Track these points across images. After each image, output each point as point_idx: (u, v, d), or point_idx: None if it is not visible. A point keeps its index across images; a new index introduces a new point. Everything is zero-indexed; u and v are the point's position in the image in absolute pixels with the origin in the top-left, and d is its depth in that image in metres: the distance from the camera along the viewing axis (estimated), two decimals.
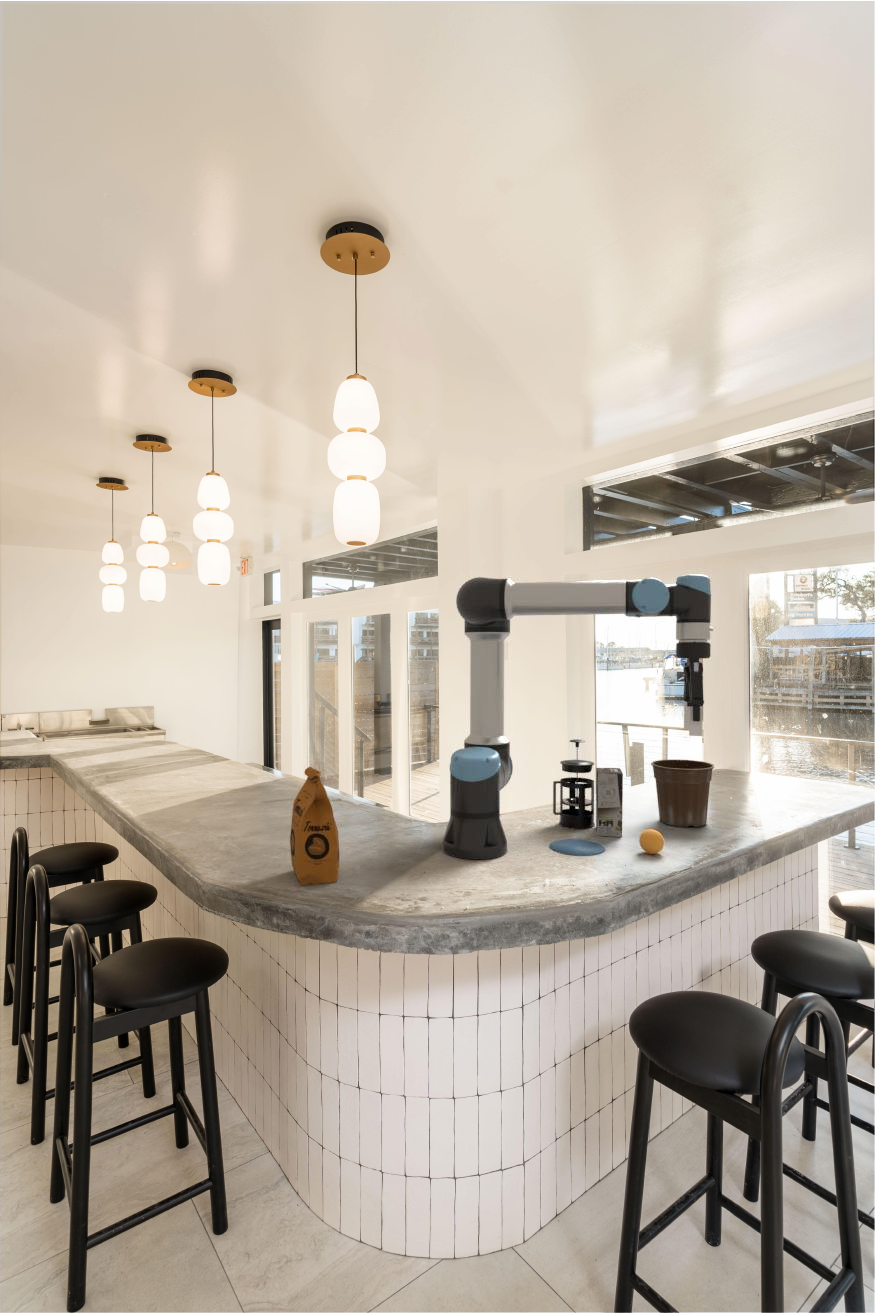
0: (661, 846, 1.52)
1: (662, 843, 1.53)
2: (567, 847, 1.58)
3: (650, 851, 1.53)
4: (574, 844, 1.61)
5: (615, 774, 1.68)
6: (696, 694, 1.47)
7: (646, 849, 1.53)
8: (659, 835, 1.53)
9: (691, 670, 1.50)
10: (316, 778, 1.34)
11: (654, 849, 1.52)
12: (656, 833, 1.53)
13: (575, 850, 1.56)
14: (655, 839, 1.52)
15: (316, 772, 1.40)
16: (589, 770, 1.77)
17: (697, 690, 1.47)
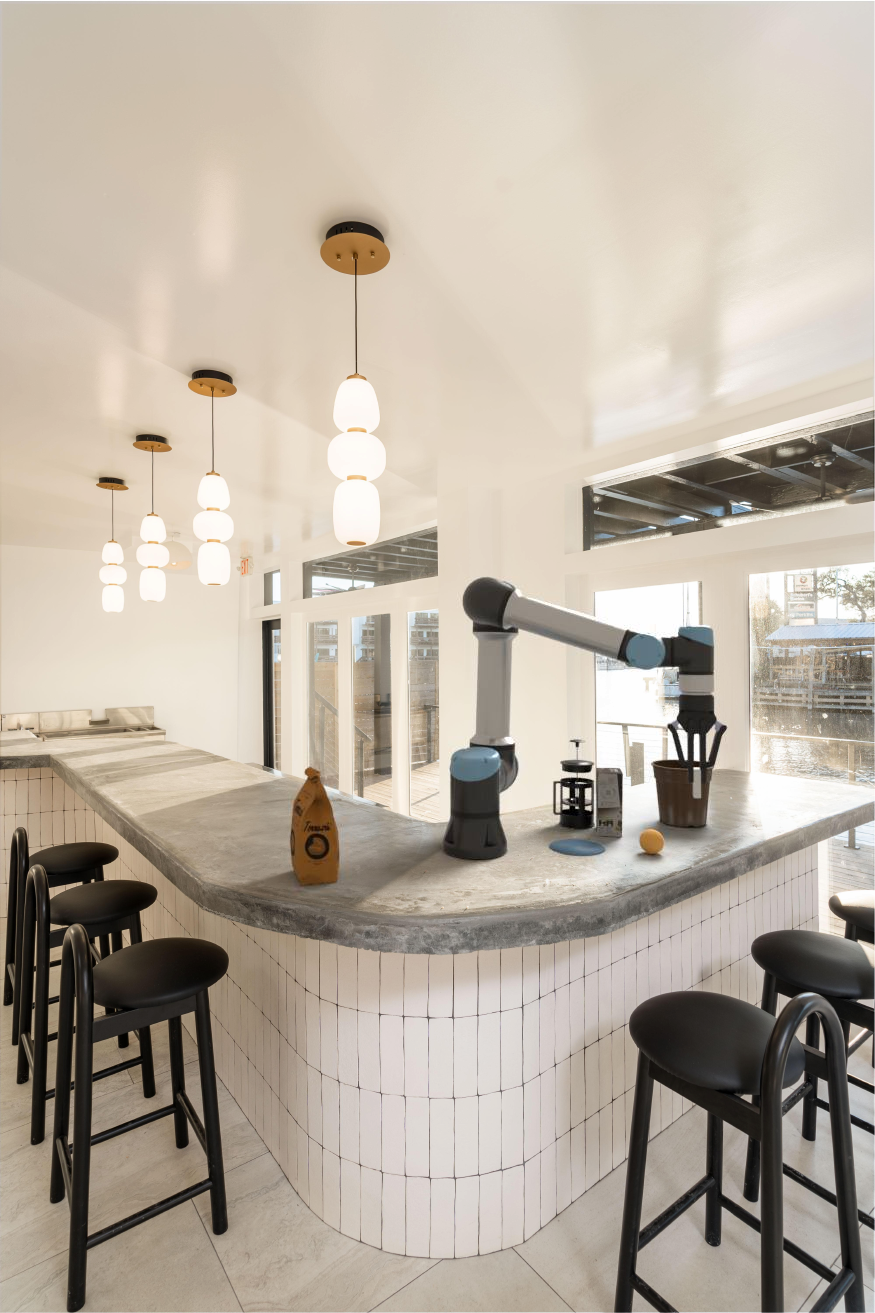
0: (661, 846, 1.52)
1: (662, 843, 1.53)
2: (567, 847, 1.58)
3: (650, 851, 1.53)
4: (574, 844, 1.61)
5: (615, 774, 1.68)
6: None
7: (646, 849, 1.53)
8: (659, 835, 1.53)
9: (723, 733, 1.49)
10: (316, 778, 1.34)
11: (654, 849, 1.52)
12: (656, 833, 1.53)
13: (575, 850, 1.56)
14: (655, 839, 1.52)
15: (316, 772, 1.40)
16: (589, 770, 1.77)
17: None
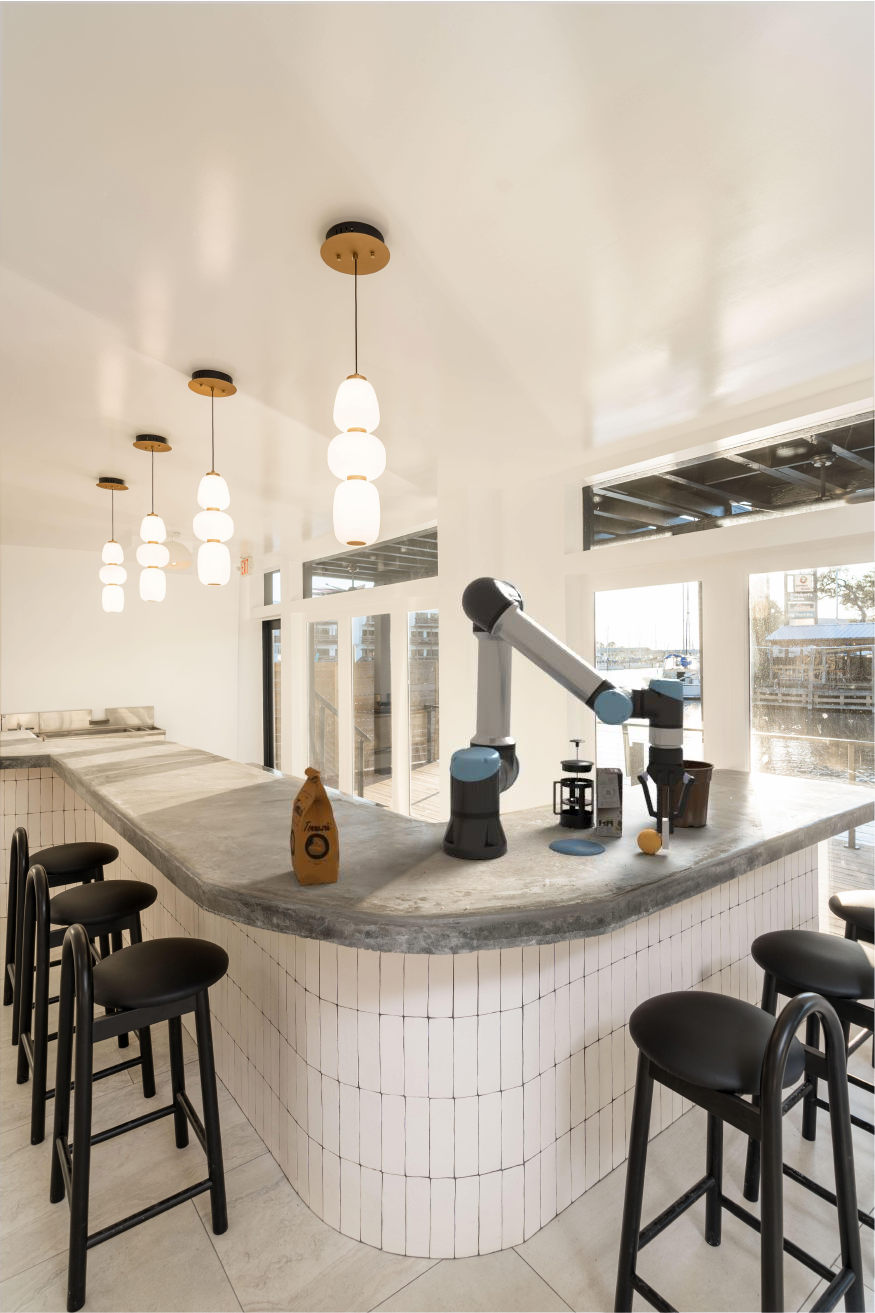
0: (659, 845, 1.53)
1: (660, 842, 1.53)
2: (567, 847, 1.58)
3: (649, 851, 1.53)
4: (574, 844, 1.61)
5: (615, 774, 1.68)
6: None
7: (645, 849, 1.53)
8: (656, 834, 1.53)
9: None
10: (316, 778, 1.34)
11: (652, 849, 1.52)
12: (653, 832, 1.53)
13: (575, 850, 1.56)
14: (652, 839, 1.52)
15: (316, 772, 1.40)
16: (589, 770, 1.77)
17: None
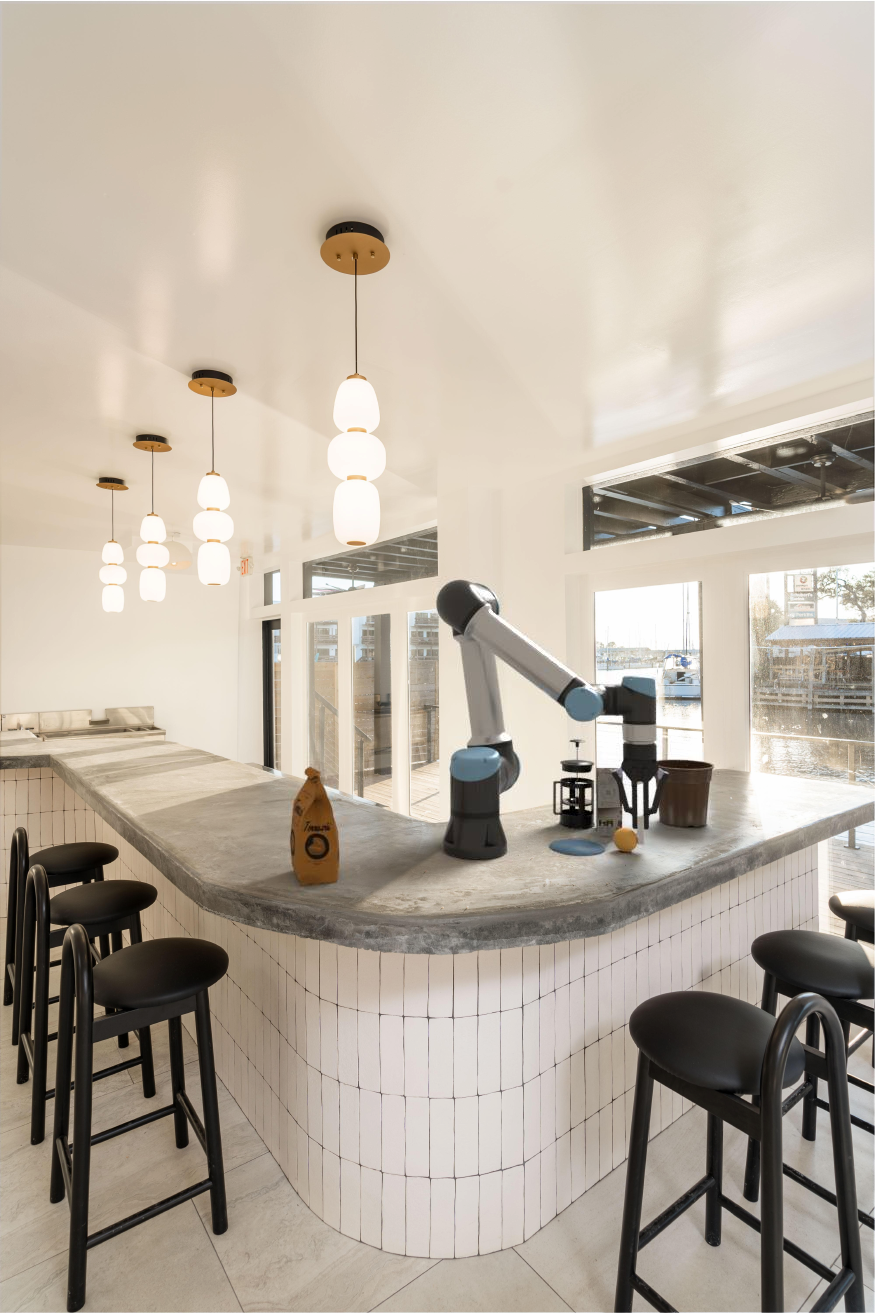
0: (631, 835, 1.54)
1: (629, 832, 1.55)
2: (567, 847, 1.58)
3: (631, 847, 1.54)
4: (574, 844, 1.61)
5: None
6: None
7: (628, 849, 1.54)
8: (621, 830, 1.55)
9: (664, 781, 1.53)
10: (316, 778, 1.34)
11: (631, 843, 1.54)
12: (618, 832, 1.55)
13: (575, 850, 1.56)
14: (622, 837, 1.54)
15: (316, 772, 1.40)
16: (589, 770, 1.77)
17: None
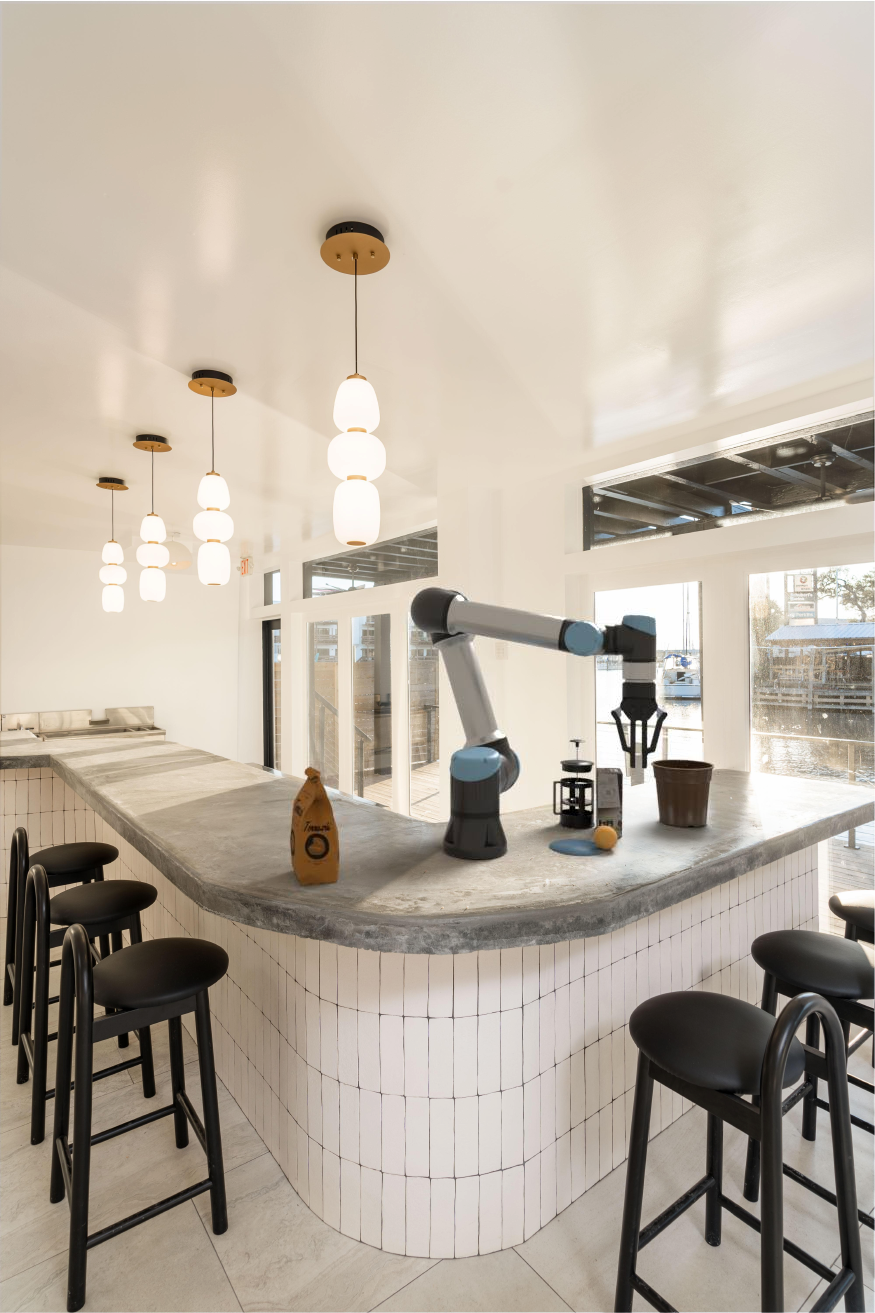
0: (597, 833, 1.57)
1: (595, 835, 1.57)
2: (567, 847, 1.58)
3: (608, 833, 1.55)
4: (574, 844, 1.61)
5: (615, 774, 1.68)
6: None
7: (611, 836, 1.55)
8: (595, 842, 1.57)
9: (663, 720, 1.53)
10: (316, 778, 1.34)
11: (604, 834, 1.55)
12: (597, 845, 1.57)
13: (575, 850, 1.56)
14: (599, 842, 1.56)
15: (316, 772, 1.40)
16: (589, 770, 1.77)
17: None
